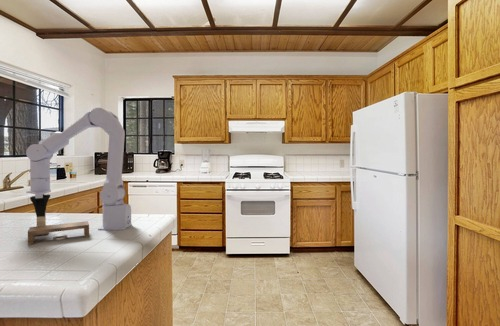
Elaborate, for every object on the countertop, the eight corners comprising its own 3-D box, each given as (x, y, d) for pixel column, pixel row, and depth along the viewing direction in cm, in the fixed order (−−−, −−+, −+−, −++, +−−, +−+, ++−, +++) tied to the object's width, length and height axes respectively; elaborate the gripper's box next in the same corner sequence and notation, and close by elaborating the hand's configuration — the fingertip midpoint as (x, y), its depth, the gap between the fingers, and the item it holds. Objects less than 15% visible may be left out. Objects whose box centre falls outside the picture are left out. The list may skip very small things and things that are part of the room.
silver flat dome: (70, 237, 94) (70, 234, 94) (62, 241, 90) (62, 237, 90) (57, 237, 94) (57, 234, 94) (49, 241, 90) (49, 238, 90)
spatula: (33, 228, 103) (32, 204, 103) (49, 227, 106) (49, 203, 106) (29, 236, 93) (29, 209, 93) (48, 234, 96) (48, 208, 96)
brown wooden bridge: (87, 232, 99) (87, 221, 99) (89, 236, 94) (89, 224, 94) (30, 239, 90) (29, 227, 90) (27, 244, 85) (27, 231, 85)
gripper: (28, 177, 106) (29, 213, 107) (23, 180, 94) (24, 220, 95) (51, 176, 110) (51, 211, 111) (49, 179, 98) (50, 218, 98)
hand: (40, 215), depth 103 cm, fingers closed on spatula
